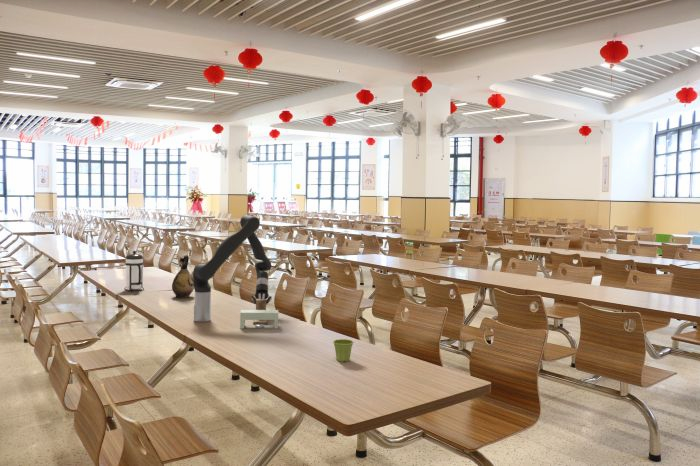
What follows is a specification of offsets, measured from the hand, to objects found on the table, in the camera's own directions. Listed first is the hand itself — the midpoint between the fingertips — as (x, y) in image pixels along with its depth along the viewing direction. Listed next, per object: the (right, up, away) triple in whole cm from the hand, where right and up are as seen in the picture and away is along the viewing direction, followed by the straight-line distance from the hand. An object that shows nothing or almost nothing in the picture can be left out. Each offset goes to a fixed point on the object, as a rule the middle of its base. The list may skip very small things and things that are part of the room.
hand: (261, 309), depth 346 cm
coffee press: (-109, +3, +86) cm, 139 cm away
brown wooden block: (+1, -6, -8) cm, 10 cm away
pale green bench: (+2, -7, -22) cm, 23 cm away
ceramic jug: (-66, +1, +65) cm, 92 cm away
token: (+2, -7, -21) cm, 22 cm away
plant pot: (+51, -12, -82) cm, 97 cm away
